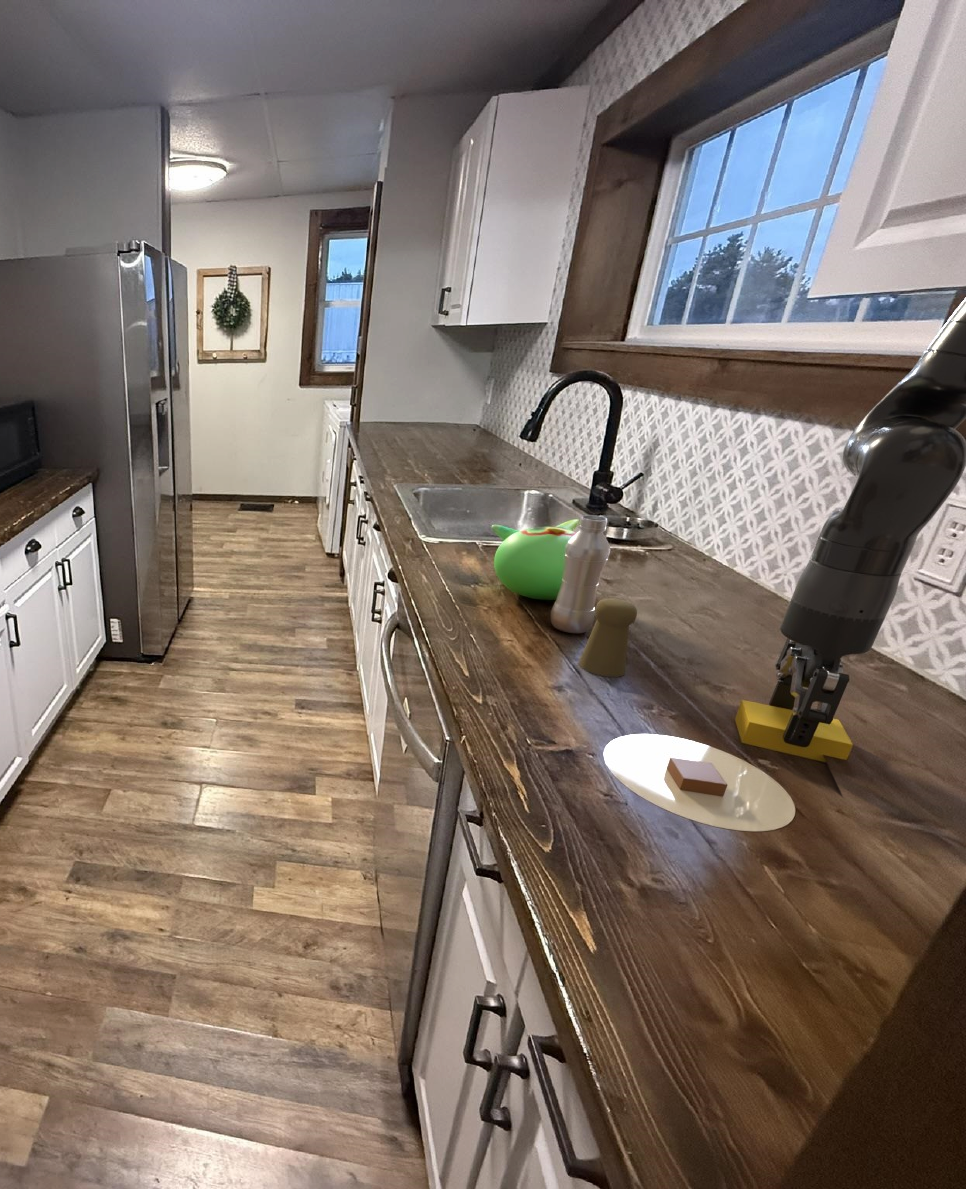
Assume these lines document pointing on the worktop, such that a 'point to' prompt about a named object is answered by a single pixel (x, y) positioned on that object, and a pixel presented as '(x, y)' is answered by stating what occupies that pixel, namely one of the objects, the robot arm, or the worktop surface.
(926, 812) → the worktop surface
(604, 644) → the cork
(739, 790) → the plate
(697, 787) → the brown wooden tile
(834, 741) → the sponge
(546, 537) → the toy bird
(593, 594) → the plastic bottle
